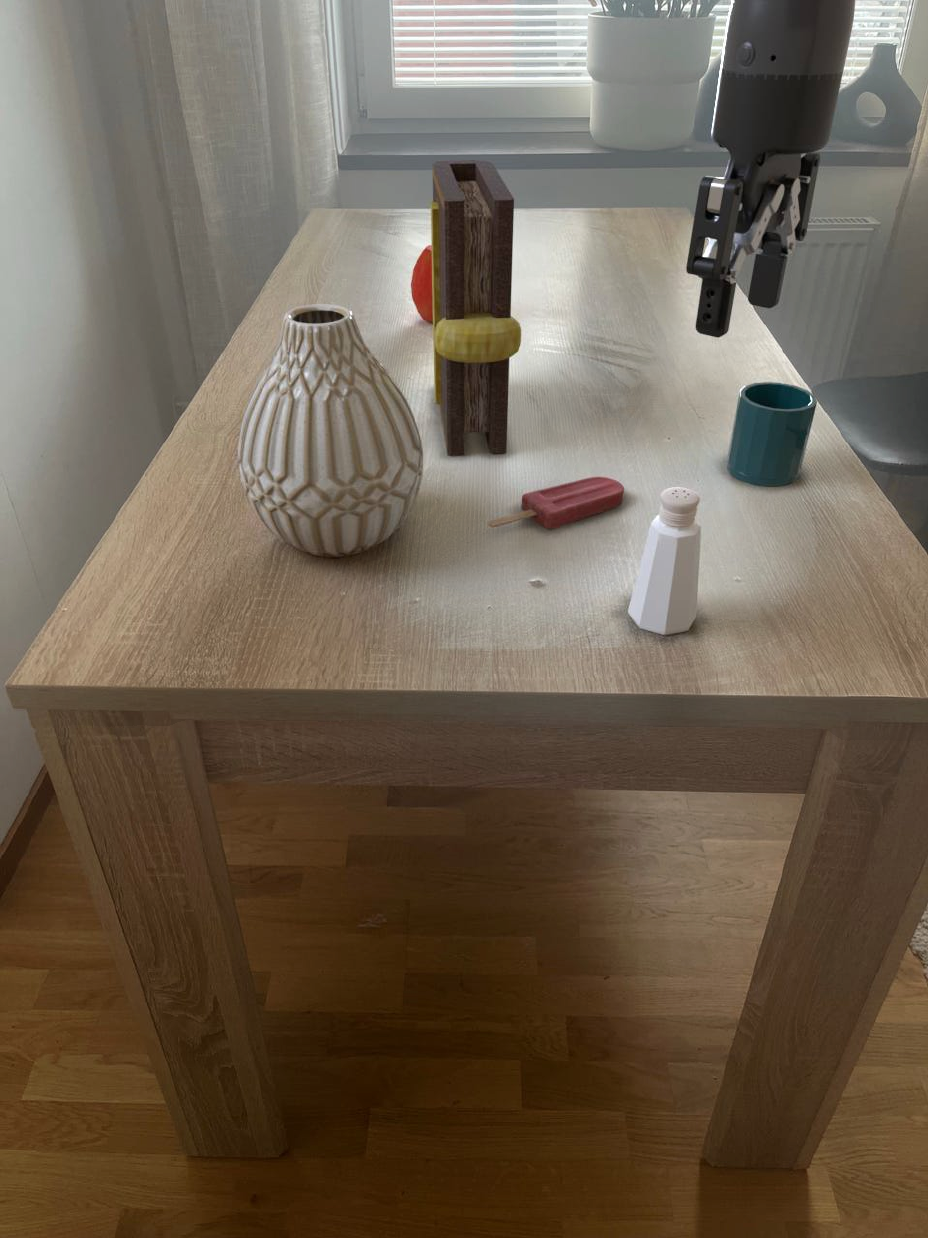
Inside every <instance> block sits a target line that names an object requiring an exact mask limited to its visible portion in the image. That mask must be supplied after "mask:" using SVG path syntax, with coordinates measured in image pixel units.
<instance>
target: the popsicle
mask: <svg viewBox="0 0 928 1238" xmlns="http://www.w3.org/2000/svg"><path fill="white" fill-rule="evenodd" d="M624 492H625V487H624V486H623V484H622V482H620V481H618V480H616V479H613V478H611V477H606V476H593V477H587V478H583V479H579V480H574V481H569V482H566V483H562V484H558V485H554V486H551V487H546V488H542V489H538V490H534V491H529V492H525V493H523V494H522V495H521V511H519V512H517V513H513V514H510V515H507V516H503V517H500V518H497V519H496V518H495V519H493V520H490V521H489V522H488V524H487V525H488V527H490V528H497V527H501V526H504V525H508V524H511V523H515V522H518V521H522V520H525V519H528V518H531V519H533V520H534V521H536V522H537V523H538V524H540V526H542V527H543V528H545V529H546V530H553V529H556V528H559V527H561V526H565V525H567V524H570V523H573V522H576V521H579V520H582V519H585V518H587V517H588V518H589V517H591V516H593V515H597V514H599V513H603V512H606V511H607V510H608V511H609V510H611V509H615V508H616V507H618V506H619V505H621V504H622V502H623V499H624Z"/></svg>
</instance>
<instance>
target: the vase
mask: <svg viewBox="0 0 928 1238" xmlns="http://www.w3.org/2000/svg"><path fill="white" fill-rule="evenodd" d="M419 430H420V429H419V427H418V424H417V421H416V419H415V416H414V413H413V411H412V408H411V406H410V404H409V402H408V399H407V398H406V396H405V395H404V393H403V391H402V390H401V388H400V386H399V385H398V384H397V382H396V381H395V379H394V378H393V376H391V374H390V372H389V371H388V370H387V369H386V368H385V366H384V365H383V364H382V363H381V362H380V360H379V359H378V358H377V357H376V356H375V355H374V354H373V353H372V351H371V349H370V348H369V347H368V346H367V344H366V342H365V340H364V338H363V335H362V334H361V330H360V328H359V326H358V323H357V320H356V318H355V316H354V314H353V312H352V311H351V310H350V309H349V308H347V307H345V306H342V305H338V304H330V303H316V304H313V303H312V304H306V305H300V306H297V307H295V308H292V309H290V310H288V311H287V312H286V313H285V314H284V315H283V319H282V323H281V328H280V334H279V339H278V342H277V345H276V349H275V352H274V353H273V355H272V358H271V359H270V360H269V362H268V363H267V365H266V366H265V368H264V370H263V371H262V373H261V375H260V376H259V378H258V380H257V382H256V384H255V386H254V388H253V389H252V392H251V394H250V396H249V398H248V400H247V403H246V405H245V409H244V412H243V416H242V419H241V424H240V428H239V435H238V442H237V454H236V456H237V470H238V474H239V479H240V482H241V486H242V490H243V492H244V495H245V497H246V500H247V502H248V504H249V506H250V507H251V509H252V511H253V513H254V514H255V516H256V517H257V518H258V520H259V521H260V523H262V525H263V526H264V527H265V528H266V529H267V530H268V531H269V532H270V533H271V534H272V535H273V536H275V537H276V538H278V539H279V540H280V541H281V542H283V543H285V544H286V545H288V546H290V547H293V548H295V549H297V550H299V551H302V552H304V553H307V554H310V555H314V556H318V557H325V558H326V557H329V558H338V557H349V556H353V555H357V554H360V553H364V552H366V551H368V550H370V549H372V548H374V547H376V546H377V545H379V544H380V543H382V542H384V541H386V539H388V538H390V537H391V536H392V535H393V534H394V533H395V532H396V531H397V530H398V529H400V527H401V526H402V525H403V524H404V523H405V521H406V519H407V518H408V516H409V514H410V513H411V511H412V509H413V507H414V505H415V504H416V501H417V499H418V495H419V494H420V493H419V492H420V489H421V486H422V479H423V472H424V449H423V442H422V438H421V434H420V431H419Z"/></svg>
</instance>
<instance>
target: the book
mask: <svg viewBox="0 0 928 1238" xmlns="http://www.w3.org/2000/svg"><path fill="white" fill-rule="evenodd" d="M514 213H515V197H513V195H512V193H511V192H510V189H509V188H508V187H507V185H506V183H505V182H504V180H503V178H502V176H501V175H500V173H499V172H498V170H497V168H496V167H495V164H494V163H493V162H490V161H487V160H479V159H478V160H476V159H467V160H466V159H464V160H463V159H462V160H459V159H458V160H441V161H435V162H434V163H432V201H430V232H431V233H430V234H431V237H430V238H431V239H430V241H431V243H430V245H432V294H433V323H432V339H433V342H432V343H433V344H432V345H433V388H434V389H433V390H434V391H433V392H434V399H435V404H436V405H438V408H439V414H440V420H441V426H442V432H443V438H444V443H445V449H446V456H448V457H462V456H465V434H474V433H477V434H478V433H484V435H485V439H486V443H487V447H488V453H489V454H490V455H505V454H506V453H508V452H507V451H508V450H507V449H508V420H509V419H508V417H509V415H508V414H509V412H508V411H509V388H510V387H509V386H510V385H509V381H510V380H509V379H510V376H509V375H510V358H511V357H513V356H515V355H516V354H517V353H518V352H519V351H520V347H521V344H522V326H521V323H520V322H519V320H517V319H516V318H515V317H514V316H512V315H511V314H512V313H511V312H512V283H513V282H512V281H513V280H512V279H513V253H514V252H513V247H514V219H515V218H514V216H515V215H514Z"/></svg>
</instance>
